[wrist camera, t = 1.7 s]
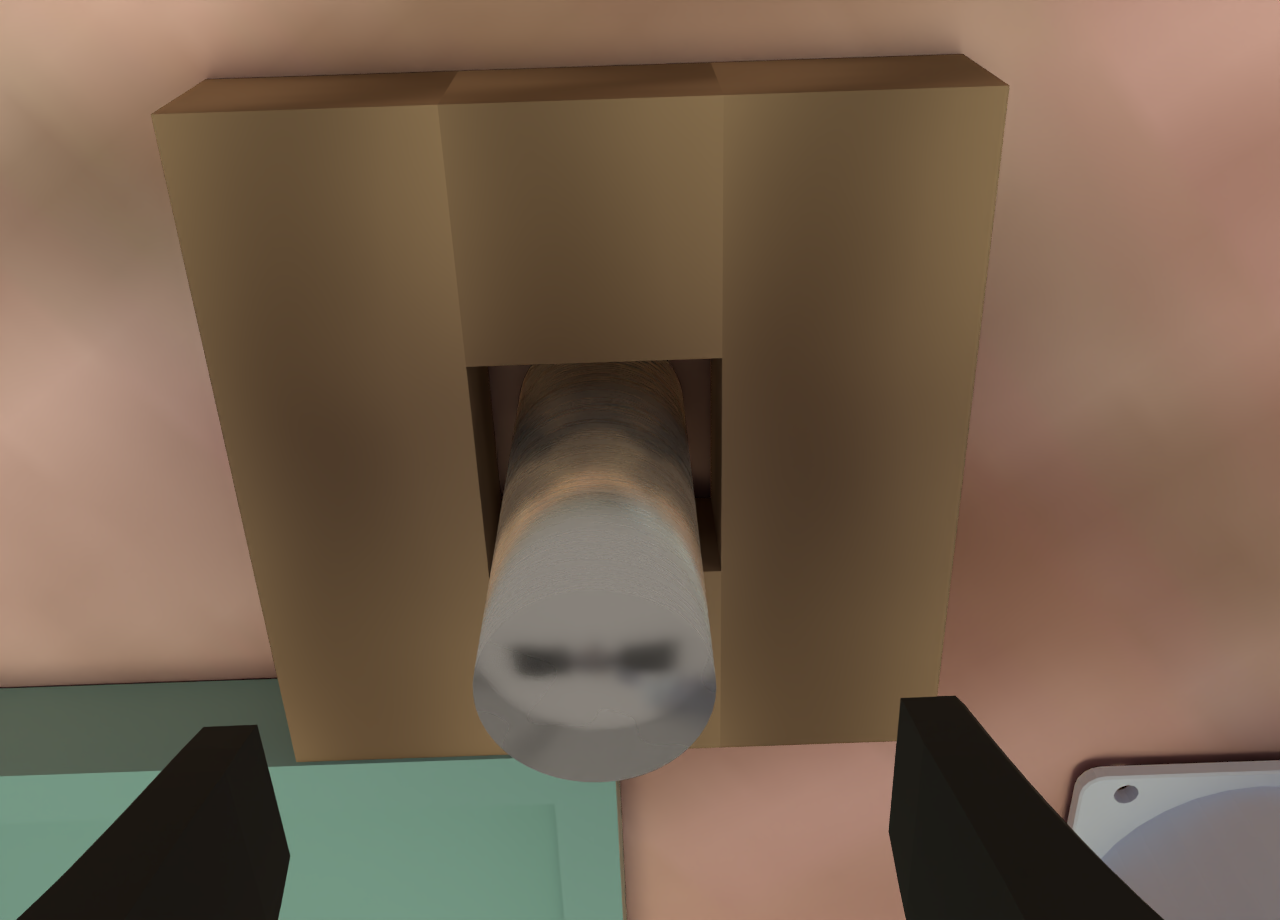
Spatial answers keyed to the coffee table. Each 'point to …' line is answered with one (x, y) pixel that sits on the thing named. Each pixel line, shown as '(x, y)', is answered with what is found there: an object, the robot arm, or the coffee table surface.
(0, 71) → the coffee table surface
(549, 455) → the pin
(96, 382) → the coffee table surface
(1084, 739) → the coffee table surface
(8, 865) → the tray
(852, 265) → the pin block
